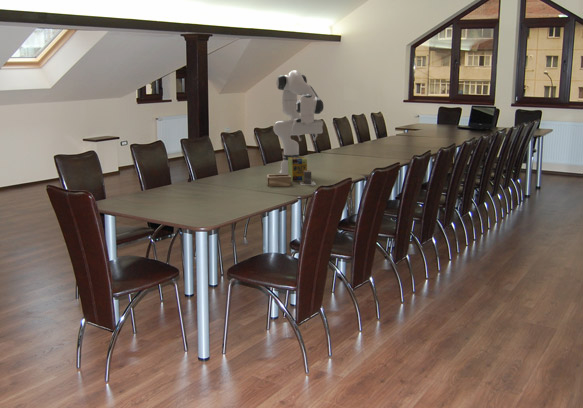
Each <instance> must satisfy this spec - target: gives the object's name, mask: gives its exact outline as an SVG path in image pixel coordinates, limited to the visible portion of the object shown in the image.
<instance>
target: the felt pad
mask: <svg viewBox="0 0 583 408" xmlns="http://www.w3.org/2000/svg"><path fill="white" fill-rule="evenodd" d="M298 182H299V184H300V186H309V187H316V186H317V184H316V182H315V181H311V184H304V181H298Z"/></svg>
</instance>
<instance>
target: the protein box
mask: <svg viewBox="0 0 583 408" xmlns="http://www.w3.org/2000/svg"><path fill="white" fill-rule="evenodd" d="M304 171H308V158H306V157H304V156H300V157H288V174H290V176H291V182H304Z"/></svg>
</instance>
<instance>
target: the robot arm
mask: <svg viewBox="0 0 583 408" xmlns="http://www.w3.org/2000/svg"><path fill="white" fill-rule="evenodd" d="M275 80H276V81H275V84H276V88H277V89H278V90H280V91H282V95H281V101H282V102H281V103H282V104H281V105H282V113H283V114H284V115H286V116H288V117H290V119H289V120H288V119H286V120H278V121H275V123H274V125H273V128H272V129H273V132H274V134H275V135H277V136H278V138H280V140H281V142H282V145H283V146H282V147H283V154H282V161H281V163H280V170H279V171H278V174H288V157H301V155H300V145H299V142H302V137H300V136H301V135H314V137H313V138H312V139H313V141H314V142H315V141H317V137H318V135H321V134H323V132H324V130H323V128H324V127H323V126H324V121H323V120H321V119H315V115H319V114H321V113H322V112H323V111H324V103H323V100H322V99H321V98H320V97H319V96H318V94H317V92H316V91H315V90H314V88H313V87H312V86H311V85H309V84H308V79H307V76H305V75H304V74H301V72H300V71H298V70H296V69H295V70H291V71H290V72H289V73H288V74H281V75H278V76H277V78H276V79H275ZM298 96H300V99H298ZM292 136H297V137H298V141H296V140H295V139H292V138H291V137H292Z"/></svg>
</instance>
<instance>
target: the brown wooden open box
mask: <svg viewBox="0 0 583 408" xmlns="http://www.w3.org/2000/svg"><path fill="white" fill-rule="evenodd" d="M266 184H267V186H268V187H275V186H276V187H278V186H279V187H284V186H285V187H286V186H291V187H292V180H291V176H290V174H279V173H275V174H274V173H273V174H269V173H268V174H267V175H266Z"/></svg>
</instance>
